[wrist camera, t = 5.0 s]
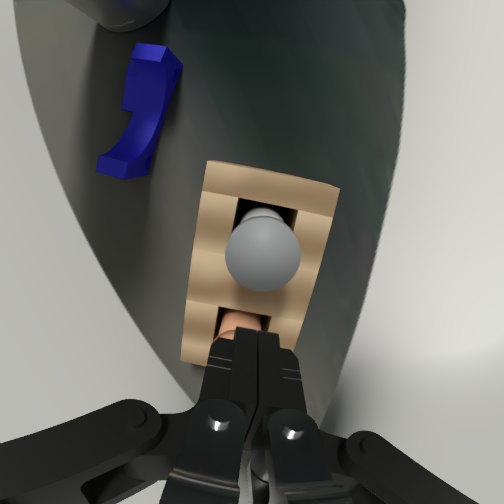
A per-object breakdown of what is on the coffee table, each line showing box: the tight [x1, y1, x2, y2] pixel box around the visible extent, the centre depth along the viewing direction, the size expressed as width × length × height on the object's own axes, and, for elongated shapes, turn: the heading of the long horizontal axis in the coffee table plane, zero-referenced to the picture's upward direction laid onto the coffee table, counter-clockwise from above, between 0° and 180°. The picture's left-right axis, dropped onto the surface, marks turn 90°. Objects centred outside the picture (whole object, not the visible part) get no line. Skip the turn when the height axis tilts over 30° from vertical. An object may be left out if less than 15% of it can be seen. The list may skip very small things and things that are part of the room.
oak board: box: [180, 161, 340, 366], centre depth 29 cm, size 20×11×5 cm, turn 169°
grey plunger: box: [225, 206, 301, 291], centre depth 23 cm, size 5×5×8 cm
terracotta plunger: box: [213, 308, 261, 342], centre depth 27 cm, size 5×5×8 cm
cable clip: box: [96, 43, 183, 180], centre depth 24 cm, size 12×4×6 cm, turn 162°
